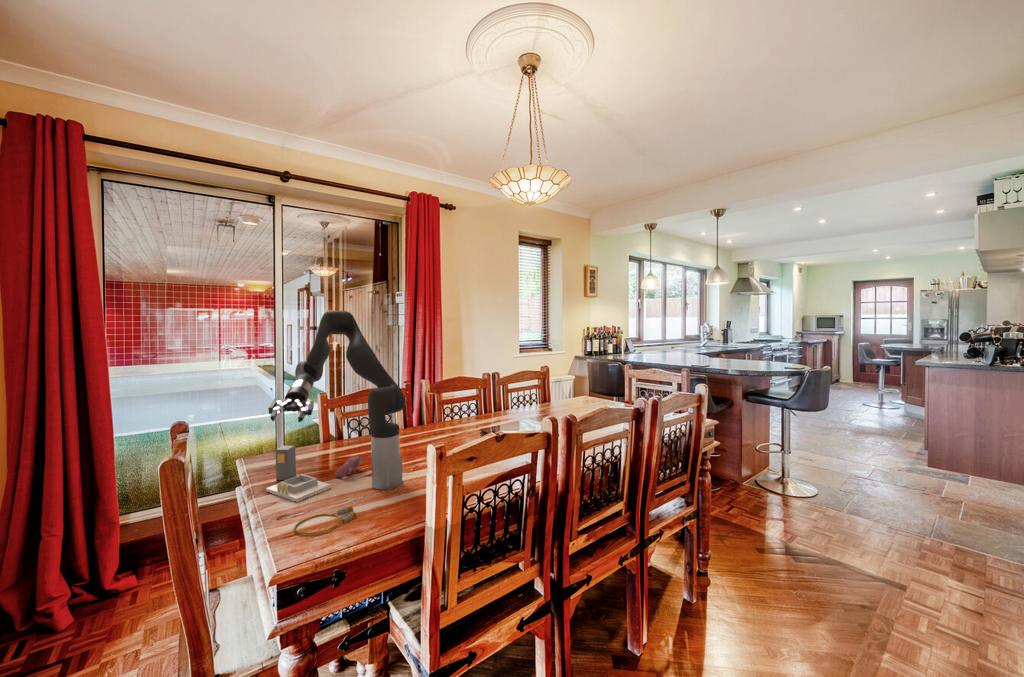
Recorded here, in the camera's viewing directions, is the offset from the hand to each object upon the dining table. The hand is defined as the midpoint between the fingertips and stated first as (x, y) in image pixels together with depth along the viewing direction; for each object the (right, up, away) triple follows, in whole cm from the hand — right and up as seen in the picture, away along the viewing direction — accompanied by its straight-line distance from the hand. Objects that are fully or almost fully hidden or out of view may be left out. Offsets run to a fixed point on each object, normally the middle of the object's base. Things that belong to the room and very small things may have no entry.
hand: (286, 419), depth 145 cm
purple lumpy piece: (+21, -21, +4) cm, 30 cm away
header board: (+10, -21, -10) cm, 26 cm away
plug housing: (0, -21, -1) cm, 21 cm away
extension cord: (+29, -23, -32) cm, 49 cm away
